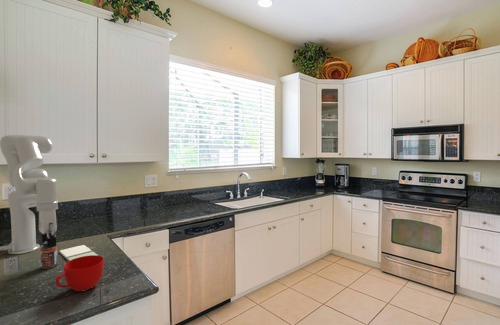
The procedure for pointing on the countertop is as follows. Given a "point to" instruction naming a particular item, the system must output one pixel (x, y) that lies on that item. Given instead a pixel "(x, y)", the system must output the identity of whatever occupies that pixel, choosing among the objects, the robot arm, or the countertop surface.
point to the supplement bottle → (48, 256)
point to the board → (77, 252)
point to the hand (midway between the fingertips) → (49, 244)
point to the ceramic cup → (82, 272)
